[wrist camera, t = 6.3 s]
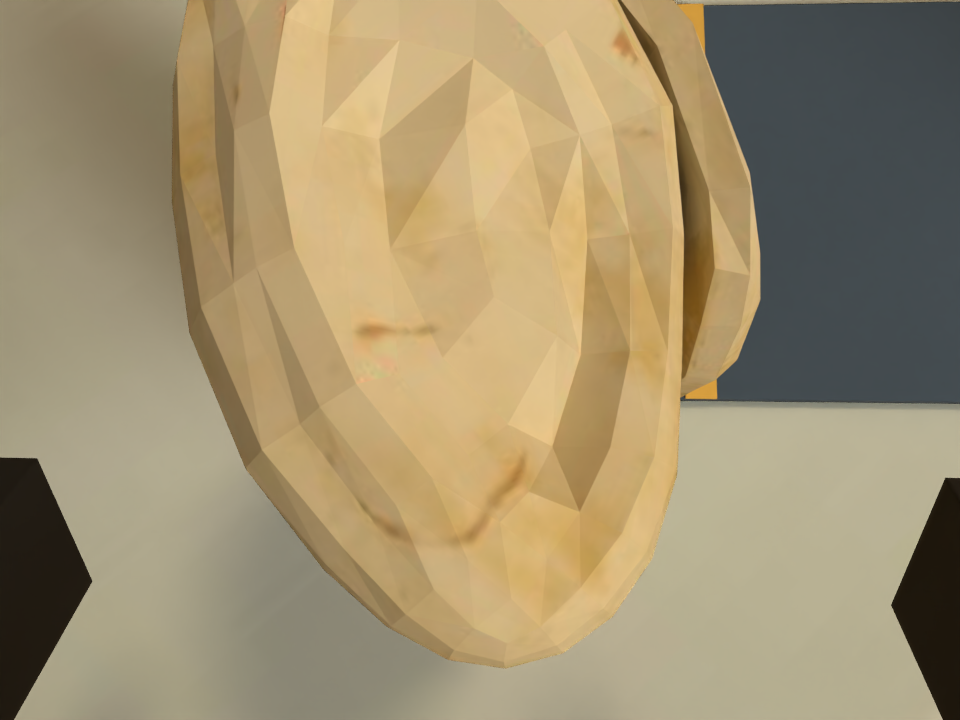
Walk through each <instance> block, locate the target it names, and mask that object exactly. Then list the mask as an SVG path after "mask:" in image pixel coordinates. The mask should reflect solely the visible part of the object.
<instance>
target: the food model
mask: <svg viewBox="0 0 960 720" xmlns="http://www.w3.org/2000/svg"><path fill="white" fill-rule="evenodd" d="M172 206H173V214H174V221H175V228H176V236H177V243H178V251H179V258H180V266H181V273H182V281H183V288H184V296H185V303H186V311H187V318H188V326H189V333H190V335H191V338H192V340H193V342H194V345H195V347H196V350H197V352H198V354H199V357H200V359H201V362H202V364H203V367H204V369H205V371H206V374H207V376H208V379H209V381H210V384H211V386H212V388H213V391H214V393H215V396H216V398H217V400H218V403H219V405H220V408H221V410H222V413H223V415H224V417H225V420H226V422H227V425H228V427H229V429H230V432H231V434H232V437H233V439H234V442H235V444H236V446H237V449H238V451H239V454H240V456H241V458H242V461H243V463H244V466H245V468H246V470H247V471H248V472H249V473H250V475H251V476H252V477H253V479H254V480H255V481H256V483H257V484H258V485H259V486H260V488H261V489H262V490H263V492H264V493H265V494H266V495H267V497H268V498H269V499H270V501H271V502H272V503H273V505H274V506H275V507H276V508H277V510H278V511H279V512H280V514H281V515H282V516H283V518H284V519H285V520H286V521H287V523H288V524H289V525H290V527H291V528H292V529H293V530H294V532H295V533H296V534H297V536H298V537H299V538H300V540H301V541H302V542H303V543H304V545H305V546H306V547H307V549H308V550H309V551H310V552H311V554H312V555H313V556H314V558H315V559H316V560H317V562H318V563H319V564H320V565H321V567H322V568H323V569H324V570H325V571H326V572H327V573H328V574H329V575H330V576H332V577H333V578H334V579H335V580H336V581H337V582H338V583H339V584H340V585H341V586H343V587H344V588H345V589H346V590H347V591H348V592H349V593H350V594H351V595H352V596H354V597H355V598H356V599H357V600H358V601H359V602H360V603H361V604H362V605H363V606H365V607H366V608H367V609H368V610H369V611H370V612H371V613H372V614H373V615H375V616H376V617H377V618H378V619H379V620H380V621H381V622H382V623H383V624H384V625H386V626H387V627H388V628H390V629H392V630H394V631H396V632H398V633H400V634H401V635H403V636H405V637H407V638H409V639H411V640H412V641H414V642H416V643H418V644H420V645H422V646H424V647H425V648H427V649H429V650H431V651H433V652H435V653H437V654H438V655H440V656H442V657H444V658H446V659H448V660H453V661H460V662H466V663H473V664H479V665H486V666H493V667H499V668H509V667H513V666H517V665H520V664H524V663H528V662H532V661H535V660H539V659H543V658H547V657H550V656H554V655H558V654H562V653H564V652H565V651H567V650H568V649H569V648H571V647H572V646H573V645H575V644H576V643H577V642H579V641H580V640H582V639H583V638H584V637H586V636H587V635H588V634H590V633H591V632H592V631H594V630H595V629H596V628H598V627H599V626H600V625H602V624H603V623H605V622H606V621H607V620H609V619H610V618H611V617H613V615H614V614H615V612H616V611H617V609H618V608H619V606H620V605H621V604H622V602H623V601H624V599H625V598H626V596H627V595H628V593H629V592H630V590H631V589H632V587H633V586H634V584H635V583H636V581H637V580H638V578H639V577H640V576H641V574H642V573H643V571H644V570H645V568H646V567H647V565H648V564H649V562H650V561H651V559H652V557H653V553H654V550H655V547H656V543H657V540H658V537H659V533H660V530H661V527H662V523H663V520H664V517H665V513H666V510H667V506H668V503H669V500H670V496H671V493H672V490H673V486H674V483H675V480H676V476H677V464H678V441H679V417H680V398H681V397H683V396H684V395H686V394H688V393H690V392H692V391H694V390H696V389H698V388H700V387H702V386H704V385H706V384H708V383H710V382H712V381H714V380H716V379H717V378H718V377H719V376H720V375H721V374H723V373H724V372H725V371H726V370H727V369H728V368H729V367H730V366H731V365H732V364H733V363H734V362H735V361H737V359H738V356H739V354H740V351H741V349H742V346H743V343H744V341H745V338H746V336H747V333H748V330H749V328H750V325H751V323H752V320H753V318H754V315H755V312H756V310H757V307H758V305H759V302H760V247H759V240H758V232H757V224H756V217H755V209H754V201H753V193H752V186H751V178H750V172H749V169H748V167H747V164H746V161H745V159H744V156H743V153H742V151H741V148H740V146H739V143H738V140H737V138H736V135H735V132H734V130H733V127H732V125H731V122H730V119H729V117H728V114H727V111H726V109H725V106H724V104H723V101H722V98H721V96H720V93H719V90H718V88H717V85H716V83H715V80H714V77H713V75H712V72H711V69H710V67H709V64H708V62H707V59H706V56H705V54H704V51H703V48H702V46H701V43H700V41H699V38H698V35H697V33H696V30H695V27H694V25H693V23H692V21H691V20H690V19H689V18H688V17H687V16H686V14H685V13H684V12H683V11H682V10H681V9H680V7H679V6H678V5H677V4H676V3H675V2H674V0H188V3H187V9H186V14H185V19H184V25H183V30H182V35H181V40H180V46H179V51H178V56H177V62H176V68H175V75H174V81H173V128H172Z"/></svg>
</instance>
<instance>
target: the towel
mask: <svg viewBox="0 0 960 720" xmlns="http://www.w3.org/2000/svg"><path fill="white" fill-rule="evenodd" d="M677 5H678V6H679V7H680V9H681V10H682V11H683V12H684V13H685V14H686V16H687V17H688V18H689V19H690V20H691V21H692V23H693V25H694V27H695V30H696V33H697V35H698V38H699V41H700V43H701V46H702V48H703V51H704V54H705V56H706V59H707V62H708V64H709V67H710V69H711V72H712V75H713V77H714V80H715V83H716V85H717V88H718V90H719V93H720V96H721V98H722V101H723V104H724V106H725V109H726V111H727V114H728V117H729V119H730V122H731V125H732V127H733V130H734V132H735V135H736V138H737V140H738V143H739V146H740V148H741V151H742V153H743V156H744V159H745V161H746V164H747V167H748V169H749V172H750V178H751V186H752V193H753V201H754V209H755V217H756V224H757V232H758V240H759V247H760V302H759V305H758V307H757V310H756V312H755V315H754V318H753V320H752V323H751V325H750V328H749V330H748V333H747V336H746V338H745V341H744V343H743V346H742V349H741V351H740V354H739V356H738V359H737V361H735V362H734V363H733V364H732V365H731V366H730V367H729V368H728V369H727V370H726V371H725V372H724V373H723V374H721V375H720V376H719V377H718V378H717V379H716V380H714V381H712V382H710V383H708V384H706V385H704V386H702V387H700V388H698V389H696V390H694V391H692V392H690V393H688V394H686V395H684V396H683V397H681V398H680V401H765V402H857V403H948V404H960V2H906V3H839V4H773V5H706V6H703V4H677Z"/></svg>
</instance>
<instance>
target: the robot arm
mask: <svg viewBox="0 0 960 720" xmlns="http://www.w3.org/2000/svg"><path fill="white" fill-rule="evenodd" d="M91 583H92V579H91V577H90V575H89V573H88V570H87V568H86V566H85V564H84V561H83V559H82V557H81V555H80V553H79V550H78V548H77V546H76V544H75V541H74V539H73V537H72V535H71V533H70V530H69V528H68V526H67V524H66V521H65V519H64V517H63V515H62V513H61V510H60V508H59V506H58V504H57V501H56V499H55V497H54V495H53V493H52V490H51V488H50V486H49V484H48V481H47V479H46V477H45V475H44V473H43V470H42V468H41V466H40V464H39V461H38V459H37V458H0V720H14V718H15V717H16V715H17V713H18V711H19V710H20V708H21V706H22V704H23V703H24V701H25V699H26V697H27V696H28V694H29V692H30V690H31V688H32V687H33V685H34V683H35V681H36V680H37V678H38V676H39V674H40V673H41V671H42V669H43V667H44V666H45V664H46V662H47V660H48V658H49V657H50V655H51V653H52V651H53V650H54V648H55V646H56V644H57V643H58V641H59V639H60V637H61V636H62V634H63V632H64V630H65V629H66V627H67V625H68V623H69V621H70V620H71V618H72V616H73V614H74V613H75V611H76V609H77V607H78V606H79V604H80V602H81V600H82V599H83V597H84V595H85V593H86V592H87V590H88V588H89V586H90V584H91ZM891 606H892V608H893V610H894V612H895V615H896V617H897V619H898V621H899V624H900V626H901V628H902V630H903V632H904V635H905V637H906V639H907V641H908V643H909V646H910V648H911V650H912V652H913V655H914V657H915V659H916V661H917V663H918V666H919V668H920V670H921V672H922V674H923V677H924V679H925V681H926V683H927V686H928V688H929V690H930V692H931V694H932V697H933V699H934V701H935V703H936V705H937V708H938V710H939V712H940V714H941V717H942V719H943V720H960V478H945V480H944V483H943V485H942V487H941V490H940V492H939V494H938V497H937V499H936V501H935V504H934V506H933V508H932V511H931V513H930V515H929V518H928V520H927V522H926V525H925V527H924V529H923V532H922V534H921V536H920V539H919V541H918V544H917V546H916V548H915V551H914V553H913V555H912V558H911V560H910V562H909V565H908V567H907V569H906V572H905V574H904V576H903V579H902V581H901V583H900V586H899V588H898V590H897V593H896V595H895V597H894V600H893V602H892V604H891Z"/></svg>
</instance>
